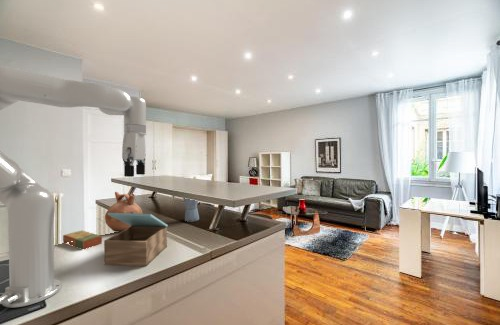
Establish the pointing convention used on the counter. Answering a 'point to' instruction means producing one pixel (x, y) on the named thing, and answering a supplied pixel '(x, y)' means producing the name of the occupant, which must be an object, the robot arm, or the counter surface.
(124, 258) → the walnut box
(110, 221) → the jug
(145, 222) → the lid
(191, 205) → the moka pot
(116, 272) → the counter surface
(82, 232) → the carton
